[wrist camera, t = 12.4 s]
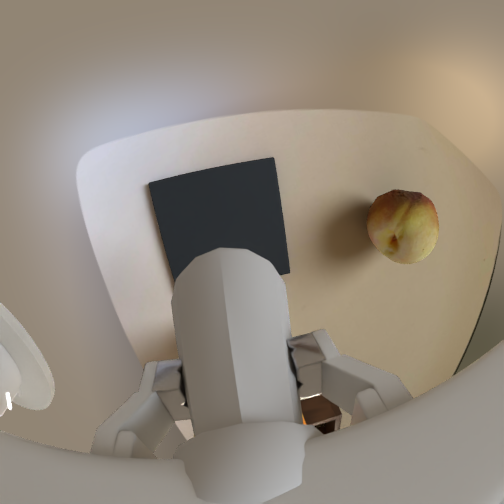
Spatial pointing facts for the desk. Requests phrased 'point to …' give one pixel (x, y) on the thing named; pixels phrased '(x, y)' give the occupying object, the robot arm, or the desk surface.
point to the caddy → (321, 414)
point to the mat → (222, 213)
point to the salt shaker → (238, 379)
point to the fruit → (403, 226)
